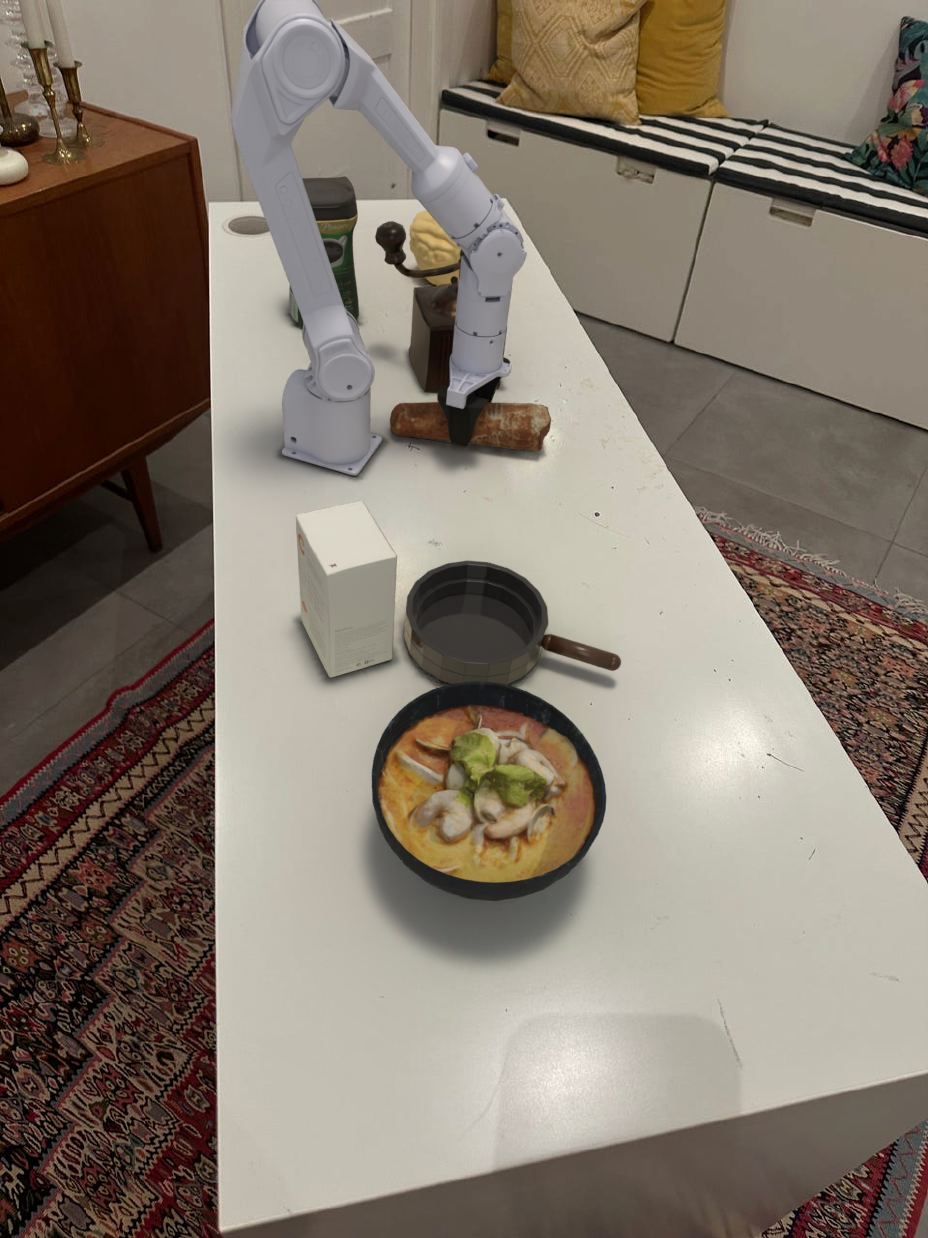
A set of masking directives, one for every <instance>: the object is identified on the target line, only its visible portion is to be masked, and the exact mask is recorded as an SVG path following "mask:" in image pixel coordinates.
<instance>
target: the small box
mask: <svg viewBox="0 0 928 1238" xmlns="http://www.w3.org/2000/svg"><path fill="white" fill-rule="evenodd" d="M295 528H296V529H295V530H296V531H295V532H296V548H297V566H298V567H297V569H298V583H299V585H298V586H299V601H300V620H301V623H302V624H303V627H304V629H305V630H306V633H307V635H308V637H309V640H310V641H311V643H312V645H313V647H314V650H315V652H316V654H317V656H318V658H319V660H320V662H321V664H322V666H323V668H324V670H325V672H326V674H327V676H328V678H334V677H338V676H342V675H345V674H348V673H351V672H354V671H358V670H361V669H365V668H368V667H371V666H375V665H377V664H381V663H384V662H387V661H391V660H393V653H394V636H395V635H394V632H395V614H396V613H395V612H396V611H395V610H396V588H397V568H398V555H397V553H396V552H395V550H394V549H393V547H392V545H391V544H390V542H389V541H388V539H387V538H386V536H385V534H384V532H383V531H382V529H381V528H380V526H379V525H378V523H377V521H376V519H375V518H374V516H373V515H372V513H371V512H370V510H369V508H368V507H367V505H366V504H365V502H364V500H358V501H352V502H349V503H344V504H339V505H334V506H330V507H326V508H321V509H315V510H311V511H307V512H301V513H296V515H295Z"/></svg>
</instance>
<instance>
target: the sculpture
mask: <svg viewBox="0 0 928 1238" xmlns="http://www.w3.org/2000/svg"><path fill="white" fill-rule="evenodd" d="M412 220H413V221H412V223H411V224H410V225H409V238H410V240H409V250H410V252H411V253H412V254H413V256H414V259H415V262H416V264H417V266H418V270H427V269H435V268H441V267H445V266H448V265H452V264H455V263H458V260H459V259H460V250H461V247H458V246H457V244H456V243H455V242H454V241H452V240H451V239H450V238H449V236H448V235H447V234H446V233H445V232H444V230H443V229H442V228H441V227H440V226H439V225H438V223H437V222H436V221H435V220H434V219H433V217H432V216H431V215H430V214H429V213H428V211H427V210H423V211H419V212H418V213H416V215H415V216H414V218H413V219H412ZM453 276H456V277H457V278H458V281H459V270H457V271H455V272H452V273H449V274H444V275H438V276H431V277H424V279H425V280H427V281H428V282H429V283H431V284H433V285H434V286H435V287H436V286H439V285H442V284H450V283H451V278H452V277H453Z"/></svg>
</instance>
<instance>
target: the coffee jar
mask: <svg viewBox="0 0 928 1238" xmlns="http://www.w3.org/2000/svg"><path fill="white" fill-rule="evenodd" d="M302 180H303V183H304V186H305V189H306V192H307V195H308V198H309V201H310V204H311V207H312V210H313V213H314V216H315V220H316V223H317V226H318V229H319V232H320V235H321V238H322V241H323V244H324V247H325V250H326V253H327V256H328V259H329V262H330V265H331V268H332V271H333V274H334V277H335V280H336V283H337V287H338V290H339V293H340V296H341V299H342V302H343V305H344V308H345V309H346V310H347V311H348V312H349V313H350V314H351V315H353V317H354V318H355V320H356V321H357V320H358V319H359V316H360V307H359V306H360V305H359V294H358V293H359V292H358V286H357V276H356V270H355V257H354V231H355V228H356V225H357V223H358V218H359V211H358V203H357V197H356V191H355V189H354V188H355V187H354V185H353V183H352V182H351V180H350V178H348V177H347V176H345V175H344V176H338V177H337V176H336V177H302ZM288 290H289V291H288V293H289V294H288V301H289V303H288V304H289V312H290V316H291V318H292V320H293V321H294V322H295V323H296V324H297V325H299V326H302V327H303V323H304V322H303V319H302V316H301V313H300V311H299V308H298V305H297V303H296V300H295V297H294V295H293V292H292V289H291V287H290V286H289V288H288Z"/></svg>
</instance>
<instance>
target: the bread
mask: <svg viewBox="0 0 928 1238" xmlns="http://www.w3.org/2000/svg"><path fill="white" fill-rule="evenodd" d="M551 424H552V417H551V414H550V412H549V407H548V406H545V405H543V404H541V403H540V404H538V403H532V402H522V403H521V402H491V403H487V404H486V406H485V407H484V409H483V410H482V411H481V413H480V414H479V417H478V419H477V422H476V425H475V429H474V432H473V436H472V439H471V441H470V443H469V445H477V446H486V447H493V448H495V447H496V448H501V449H509V450H517V451H524V452H525V451H527V452H542V450H543V445H544V440H545V438H546V437H547V436H548V433H549V432H550V431H551ZM389 425H390V430H391V431H392V433H393V434H395V435H396V436H399V437H407V438H408V437H409V438H417V439H425V440H431V441H436V442H448V443H451V440H450V435H449V429H448V424H447V419H446V416H445V413H444V411H443V409H442V407H441V405H440V404H439V402H438V401H432V402H431V401H425V402H424V401H423V402H399V403H397V404H396V405H394V407H393V409H392V410H391V413H390V416H389Z"/></svg>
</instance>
